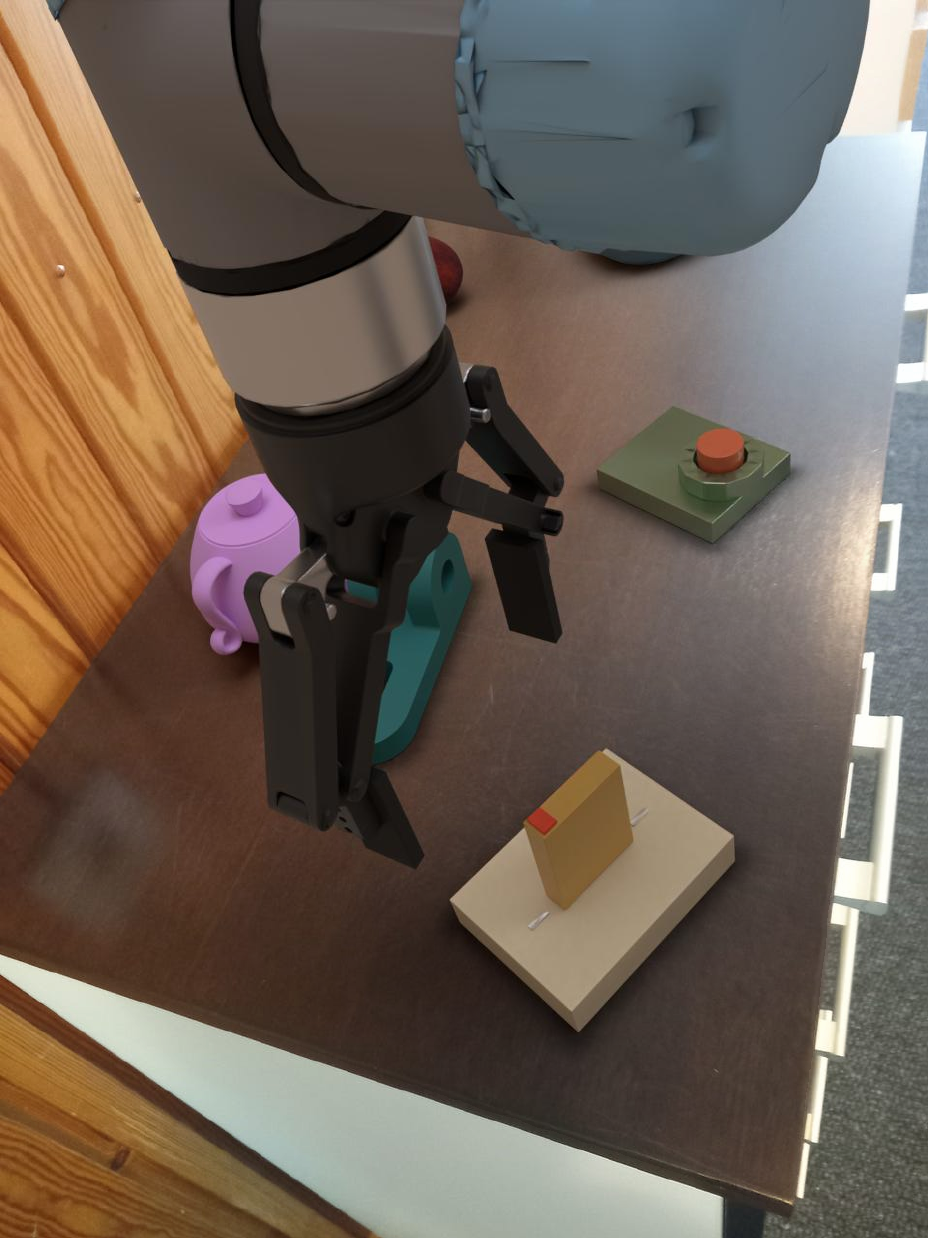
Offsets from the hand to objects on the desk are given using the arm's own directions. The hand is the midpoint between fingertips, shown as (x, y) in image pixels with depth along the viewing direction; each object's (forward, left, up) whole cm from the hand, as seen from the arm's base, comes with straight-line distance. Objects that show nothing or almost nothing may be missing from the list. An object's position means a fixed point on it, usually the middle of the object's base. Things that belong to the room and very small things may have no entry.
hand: (470, 734), depth 49 cm
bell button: (+14, -37, -16) cm, 43 cm away
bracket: (+23, -8, -19) cm, 31 cm away
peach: (+60, -45, -19) cm, 77 cm away
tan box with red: (-2, -4, -16) cm, 17 cm away
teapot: (+35, -8, -19) cm, 41 cm away
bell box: (+17, -37, -19) cm, 45 cm away
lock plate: (-2, -4, -19) cm, 20 cm away
